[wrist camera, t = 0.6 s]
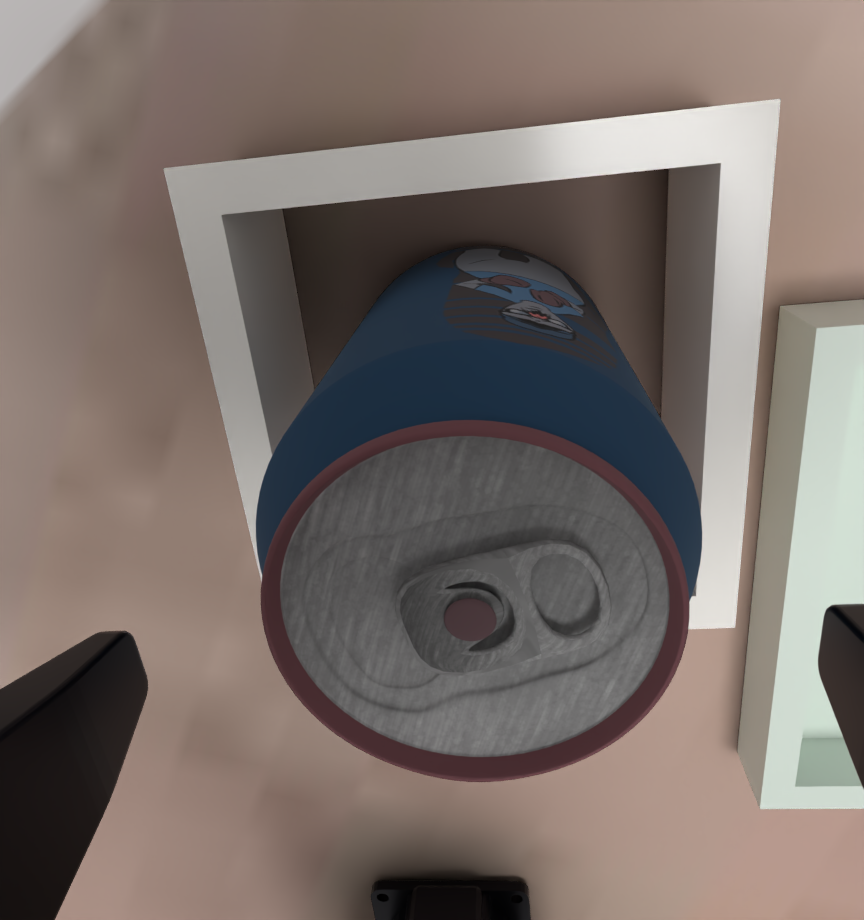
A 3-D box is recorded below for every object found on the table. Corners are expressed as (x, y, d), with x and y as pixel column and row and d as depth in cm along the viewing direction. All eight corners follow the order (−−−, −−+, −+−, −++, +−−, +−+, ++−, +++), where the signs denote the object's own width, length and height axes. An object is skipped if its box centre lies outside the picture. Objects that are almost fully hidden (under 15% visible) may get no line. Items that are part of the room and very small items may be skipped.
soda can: (409, 498, 22) (330, 843, 12) (325, 285, 20) (121, 471, 9) (631, 438, 21) (778, 766, 10) (571, 201, 18) (683, 298, 8)
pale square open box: (690, 536, 22) (734, 627, 18) (313, 553, 24) (275, 642, 19) (712, 107, 17) (781, 98, 13) (235, 160, 19) (163, 168, 15)
